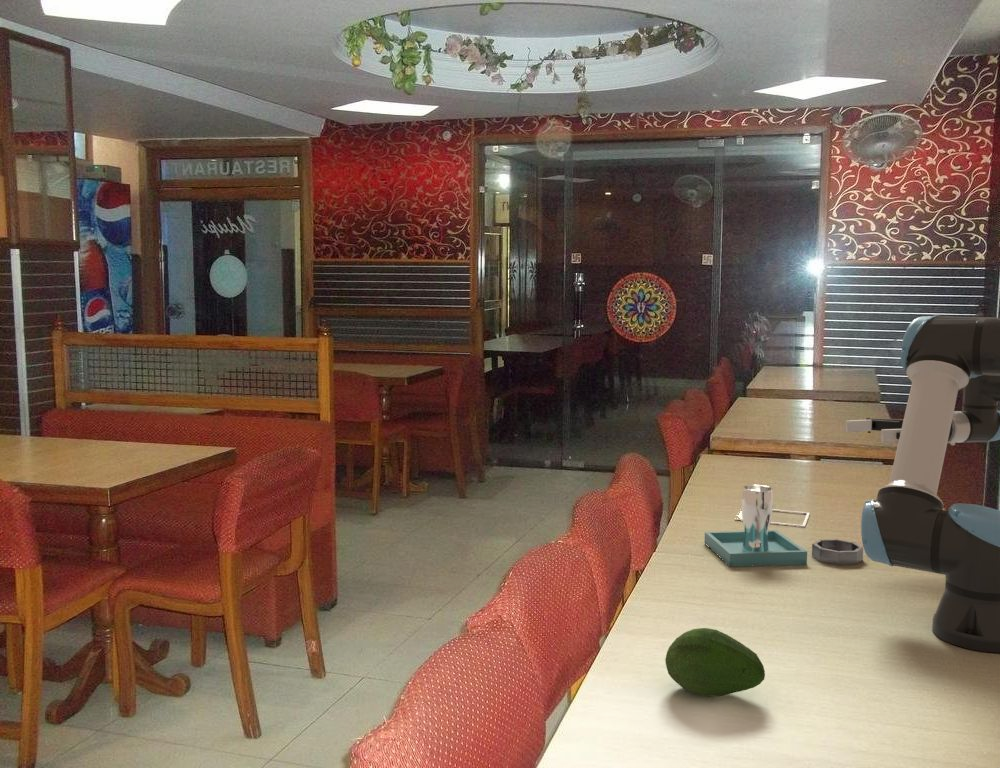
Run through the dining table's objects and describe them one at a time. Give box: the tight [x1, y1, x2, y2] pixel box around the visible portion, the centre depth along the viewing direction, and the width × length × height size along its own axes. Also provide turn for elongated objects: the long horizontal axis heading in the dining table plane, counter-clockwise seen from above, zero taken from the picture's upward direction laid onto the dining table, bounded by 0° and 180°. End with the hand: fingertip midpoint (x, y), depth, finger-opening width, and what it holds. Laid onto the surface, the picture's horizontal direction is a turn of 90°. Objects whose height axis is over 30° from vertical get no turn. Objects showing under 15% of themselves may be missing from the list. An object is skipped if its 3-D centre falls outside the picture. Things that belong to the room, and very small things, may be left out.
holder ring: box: [811, 538, 864, 566], centre depth 216 cm, size 10×10×3 cm
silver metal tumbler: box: [741, 484, 774, 552], centre depth 217 cm, size 7×7×15 cm
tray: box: [704, 529, 808, 567], centre depth 219 cm, size 18×18×3 cm
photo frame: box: [734, 508, 811, 528], centre depth 252 cm, size 15×1×18 cm
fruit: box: [664, 627, 766, 697], centre depth 145 cm, size 15×10×10 cm, turn 65°
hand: (863, 430), depth 215 cm, fingers open, 13 cm apart
